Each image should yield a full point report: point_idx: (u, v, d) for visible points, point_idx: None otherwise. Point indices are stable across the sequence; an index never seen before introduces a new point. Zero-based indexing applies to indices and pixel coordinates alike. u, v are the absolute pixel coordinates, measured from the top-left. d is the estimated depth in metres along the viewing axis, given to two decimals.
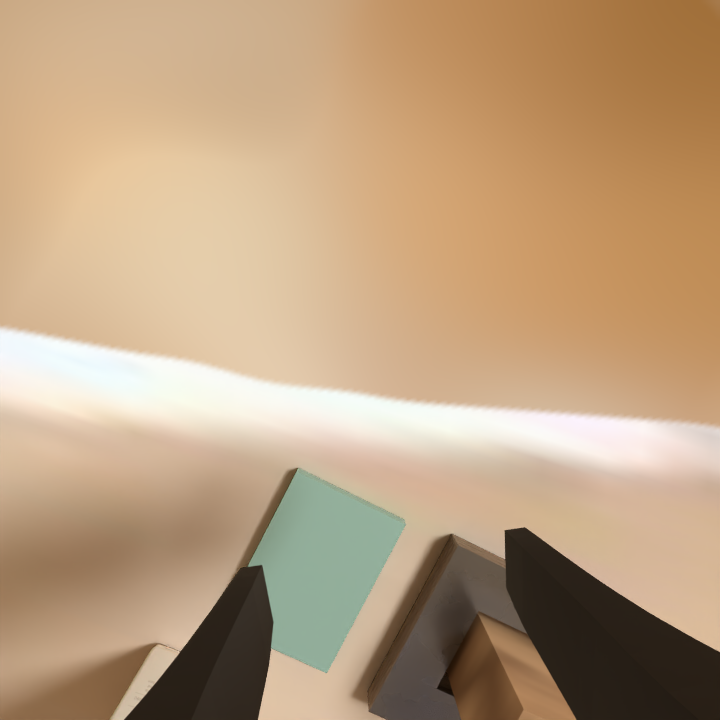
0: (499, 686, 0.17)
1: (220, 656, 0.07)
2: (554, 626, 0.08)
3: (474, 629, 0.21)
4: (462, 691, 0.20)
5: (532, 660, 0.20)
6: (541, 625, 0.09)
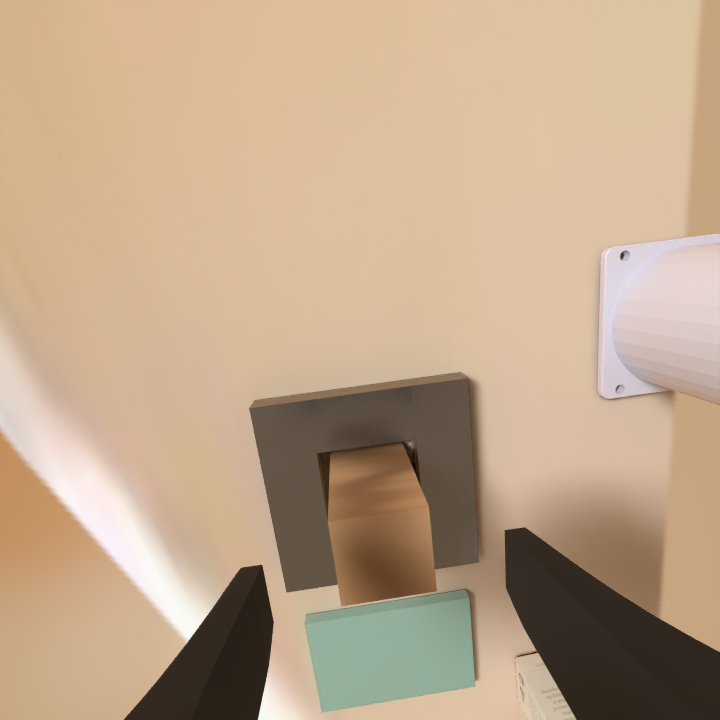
0: None
1: (220, 656, 0.07)
2: (554, 626, 0.08)
3: None
4: None
5: None
6: (541, 625, 0.09)
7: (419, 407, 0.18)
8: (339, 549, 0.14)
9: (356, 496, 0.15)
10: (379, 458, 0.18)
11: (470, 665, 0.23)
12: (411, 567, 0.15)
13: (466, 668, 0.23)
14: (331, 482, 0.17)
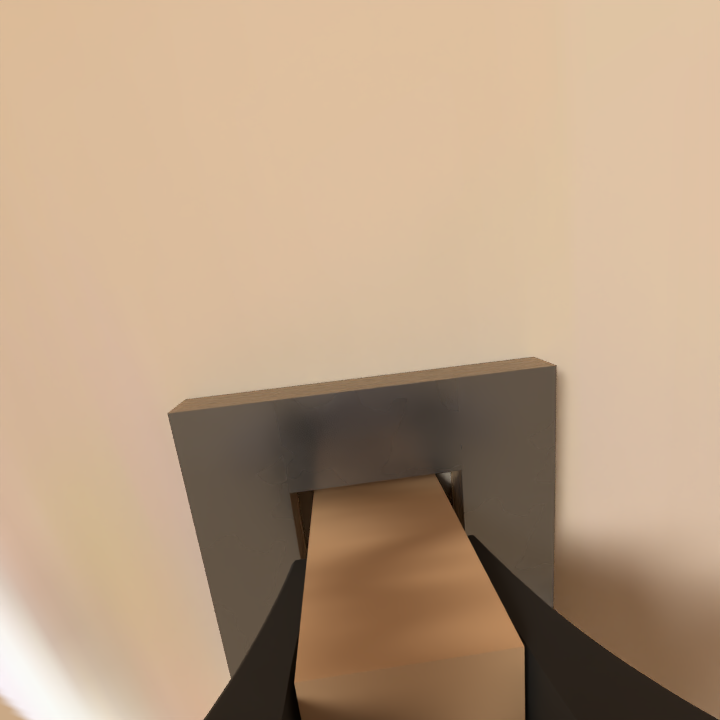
0: None
1: (296, 645, 0.07)
2: None
3: None
4: None
5: None
6: None
7: (469, 415, 0.10)
8: None
9: (359, 600, 0.07)
10: (398, 504, 0.10)
11: None
12: None
13: None
14: (311, 557, 0.09)
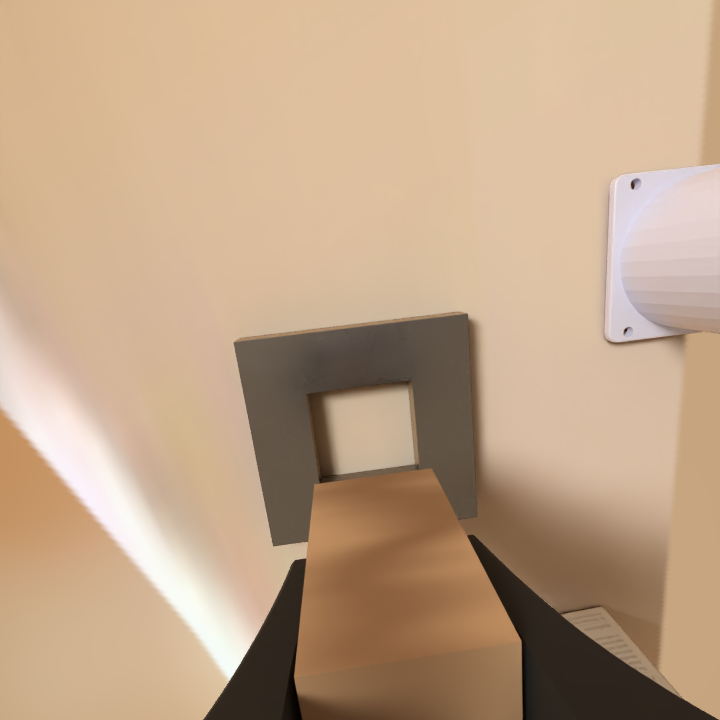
0: None
1: (296, 645, 0.07)
2: None
3: None
4: None
5: None
6: None
7: (415, 345, 0.17)
8: None
9: (357, 596, 0.08)
10: (397, 502, 0.10)
11: None
12: None
13: None
14: (311, 555, 0.09)
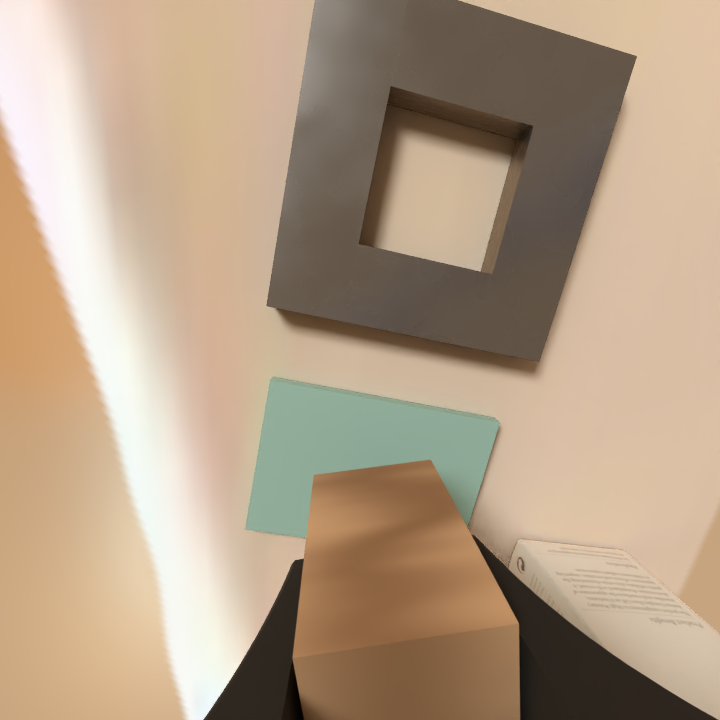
0: None
1: None
2: None
3: None
4: None
5: None
6: None
7: (557, 74, 0.12)
8: (318, 711, 0.06)
9: (356, 581, 0.08)
10: (396, 492, 0.11)
11: None
12: None
13: None
14: (310, 542, 0.09)
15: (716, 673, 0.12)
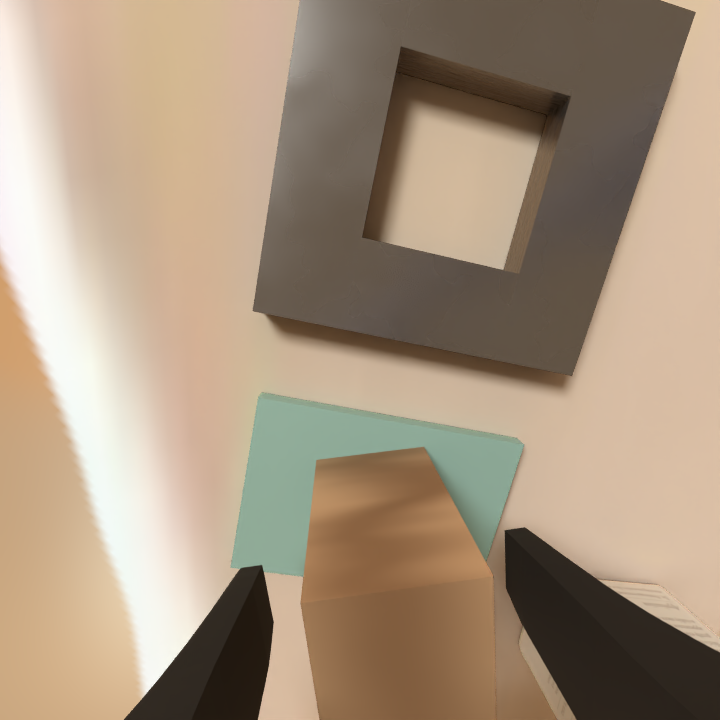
0: None
1: (220, 656, 0.07)
2: (554, 626, 0.08)
3: None
4: None
5: None
6: (541, 625, 0.09)
7: (600, 33, 0.10)
8: (322, 651, 0.08)
9: (355, 545, 0.09)
10: (392, 474, 0.12)
11: None
12: (454, 682, 0.08)
13: None
14: (314, 515, 0.10)
15: None
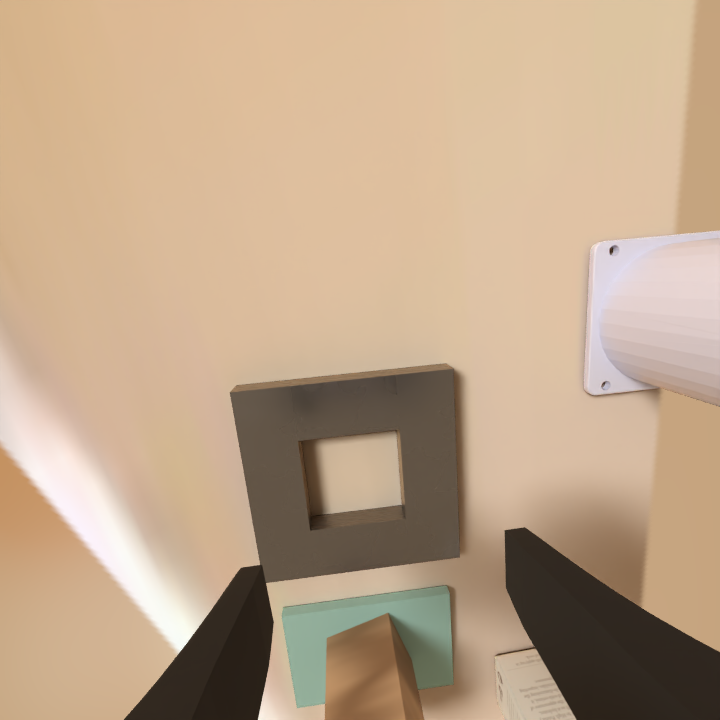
0: None
1: (220, 656, 0.07)
2: (554, 626, 0.08)
3: None
4: None
5: None
6: (541, 625, 0.09)
7: (403, 397, 0.18)
8: None
9: None
10: (368, 648, 0.20)
11: (449, 663, 0.22)
12: None
13: (445, 665, 0.23)
14: (327, 698, 0.18)
15: None
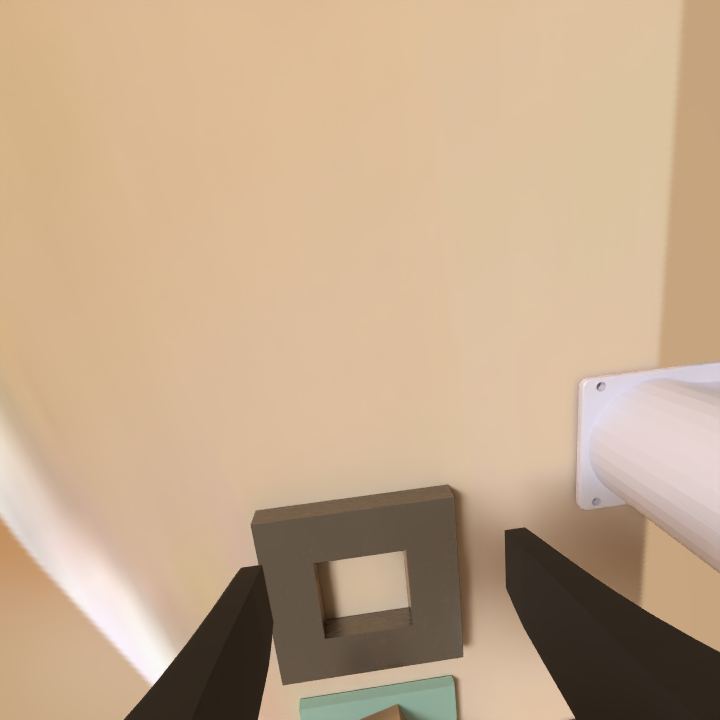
0: None
1: (220, 656, 0.07)
2: (554, 626, 0.08)
3: None
4: None
5: None
6: (541, 625, 0.09)
7: (409, 522, 0.20)
8: None
9: None
10: None
11: None
12: None
13: None
14: None
15: None
